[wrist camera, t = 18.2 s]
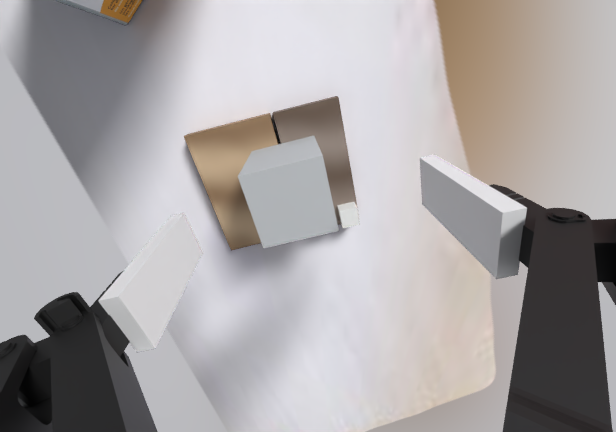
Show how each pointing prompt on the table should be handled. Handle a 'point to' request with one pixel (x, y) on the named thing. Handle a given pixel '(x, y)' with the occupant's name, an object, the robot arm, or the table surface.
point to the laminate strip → (322, 142)
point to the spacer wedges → (348, 214)
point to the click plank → (230, 171)
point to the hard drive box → (107, 8)
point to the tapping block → (288, 192)
